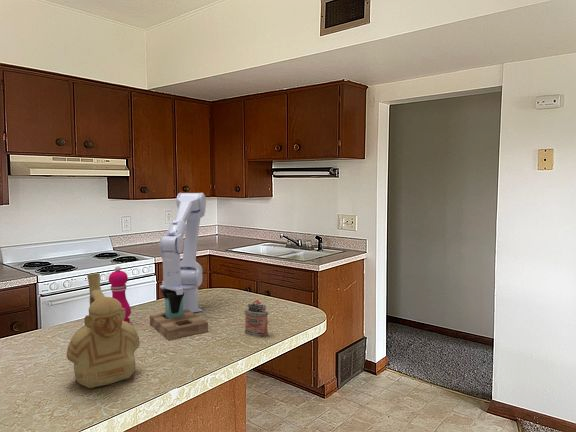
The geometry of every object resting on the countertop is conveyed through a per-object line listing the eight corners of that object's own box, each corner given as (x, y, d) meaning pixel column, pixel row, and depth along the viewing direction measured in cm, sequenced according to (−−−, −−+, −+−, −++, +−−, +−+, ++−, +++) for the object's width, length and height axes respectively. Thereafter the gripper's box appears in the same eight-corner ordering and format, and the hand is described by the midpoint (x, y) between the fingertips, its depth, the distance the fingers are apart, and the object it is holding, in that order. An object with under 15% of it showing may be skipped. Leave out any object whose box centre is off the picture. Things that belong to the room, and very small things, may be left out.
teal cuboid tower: (165, 321, 152) (165, 298, 151) (179, 318, 155) (179, 295, 154) (169, 324, 149) (168, 300, 148) (183, 321, 152) (183, 298, 151)
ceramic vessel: (74, 402, 100) (68, 291, 97) (62, 370, 116) (57, 275, 114) (151, 382, 109) (147, 280, 107) (130, 355, 125) (126, 267, 123)
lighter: (242, 333, 142) (242, 302, 141) (248, 330, 145) (248, 300, 144) (264, 338, 138) (264, 306, 137) (270, 334, 141) (269, 303, 140)
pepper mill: (135, 321, 154) (133, 264, 152) (125, 329, 147) (123, 268, 145) (115, 321, 155) (112, 264, 153) (104, 328, 148) (101, 268, 146)
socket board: (150, 324, 152) (149, 315, 151) (186, 317, 159) (186, 308, 159) (168, 340, 137) (168, 330, 137) (208, 331, 144) (207, 322, 144)
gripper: (153, 269, 154) (154, 308, 155) (167, 277, 142) (168, 319, 143) (173, 266, 158) (174, 304, 159) (188, 274, 146) (189, 315, 147)
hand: (173, 311), depth 151 cm, fingers closed on teal cuboid tower, 3 cm apart
